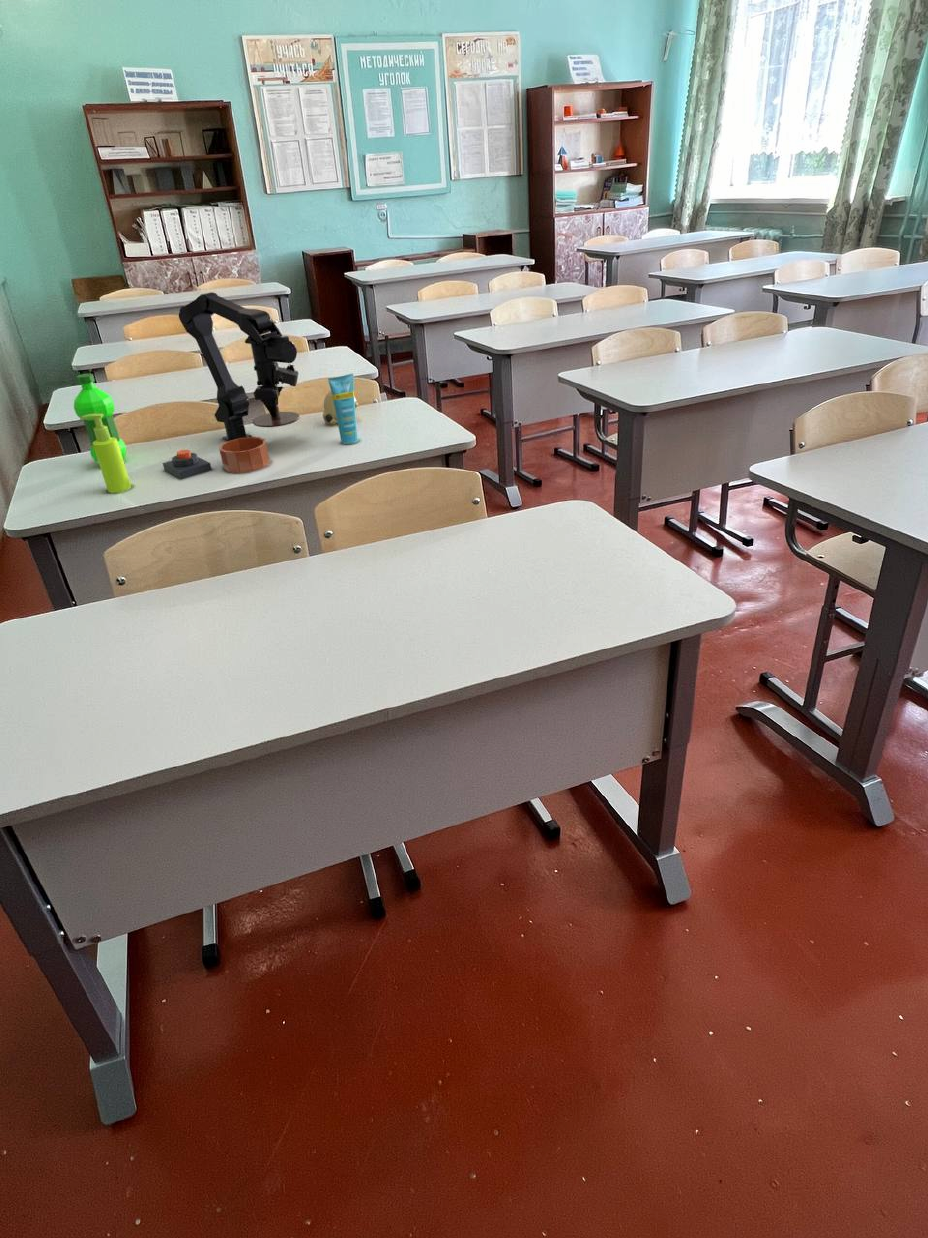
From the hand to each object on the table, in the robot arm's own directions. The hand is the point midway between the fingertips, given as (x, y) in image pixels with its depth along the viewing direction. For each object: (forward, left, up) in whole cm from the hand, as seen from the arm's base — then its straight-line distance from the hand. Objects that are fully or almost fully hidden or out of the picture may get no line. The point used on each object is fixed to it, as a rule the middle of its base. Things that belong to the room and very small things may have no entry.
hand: (275, 415), depth 219 cm
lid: (0, 0, -1) cm, 1 cm away
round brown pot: (+7, -15, -9) cm, 19 cm away
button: (-3, -28, -5) cm, 29 cm away
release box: (-3, -28, -9) cm, 30 cm away
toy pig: (-5, +25, -9) cm, 27 cm away
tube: (+14, +15, -9) cm, 23 cm away
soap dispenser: (-5, -47, -9) cm, 48 cm away
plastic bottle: (-28, -40, -9) cm, 50 cm away
